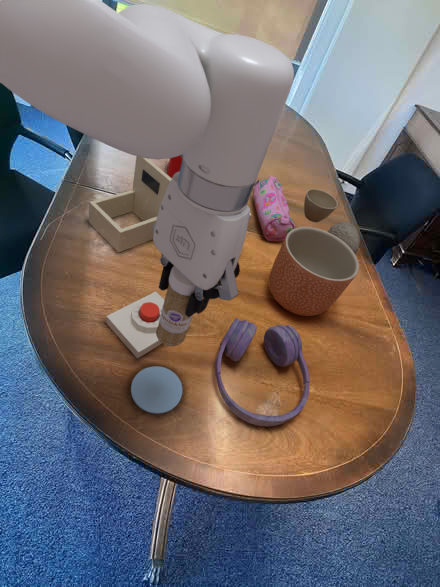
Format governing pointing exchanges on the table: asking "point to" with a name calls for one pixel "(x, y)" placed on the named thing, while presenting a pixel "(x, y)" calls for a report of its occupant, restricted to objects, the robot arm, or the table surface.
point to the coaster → (156, 390)
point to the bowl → (318, 205)
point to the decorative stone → (346, 234)
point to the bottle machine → (131, 207)
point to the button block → (136, 325)
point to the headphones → (281, 350)
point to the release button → (149, 312)
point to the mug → (174, 165)
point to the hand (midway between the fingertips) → (181, 297)
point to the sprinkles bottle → (175, 309)
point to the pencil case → (272, 209)
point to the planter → (311, 271)
